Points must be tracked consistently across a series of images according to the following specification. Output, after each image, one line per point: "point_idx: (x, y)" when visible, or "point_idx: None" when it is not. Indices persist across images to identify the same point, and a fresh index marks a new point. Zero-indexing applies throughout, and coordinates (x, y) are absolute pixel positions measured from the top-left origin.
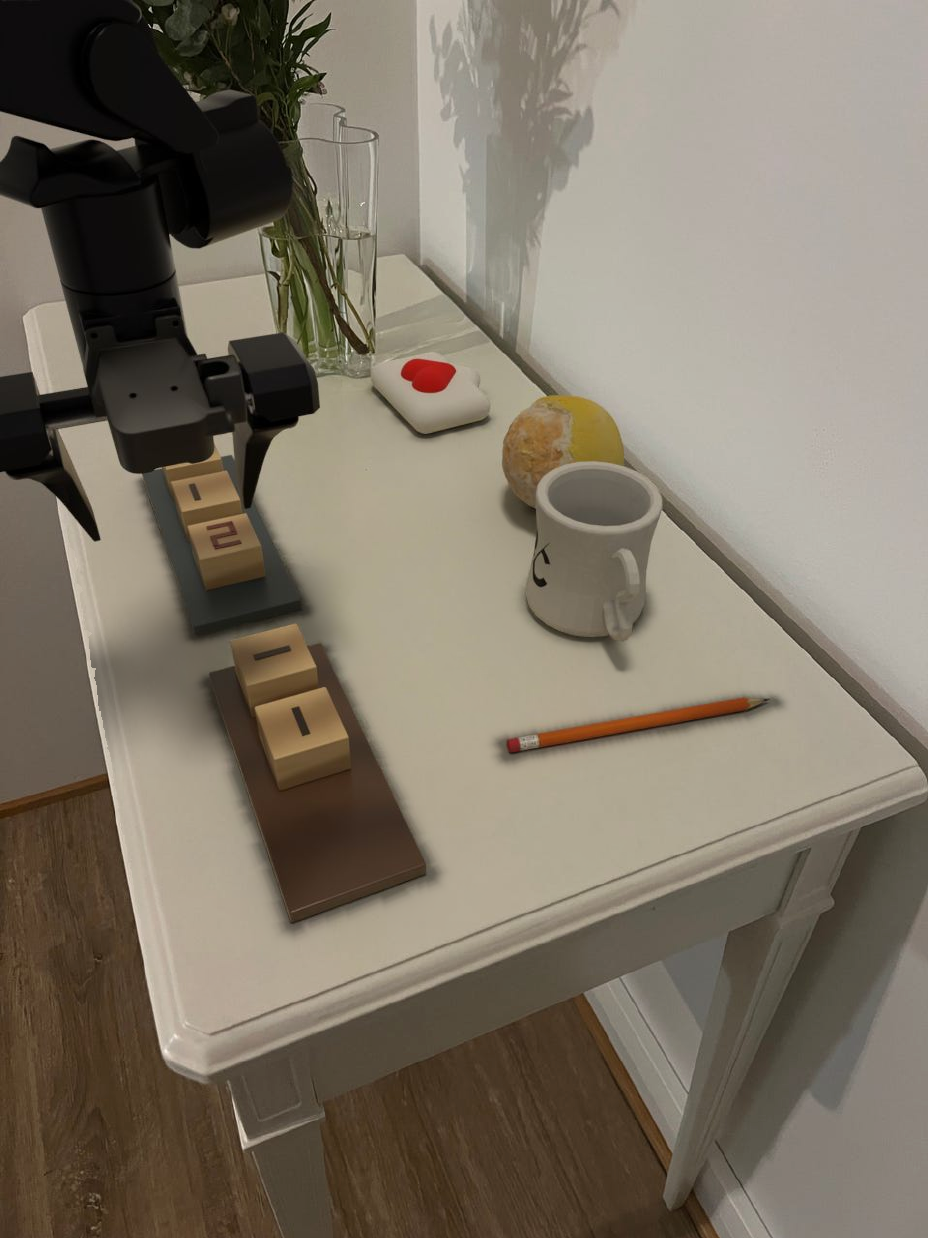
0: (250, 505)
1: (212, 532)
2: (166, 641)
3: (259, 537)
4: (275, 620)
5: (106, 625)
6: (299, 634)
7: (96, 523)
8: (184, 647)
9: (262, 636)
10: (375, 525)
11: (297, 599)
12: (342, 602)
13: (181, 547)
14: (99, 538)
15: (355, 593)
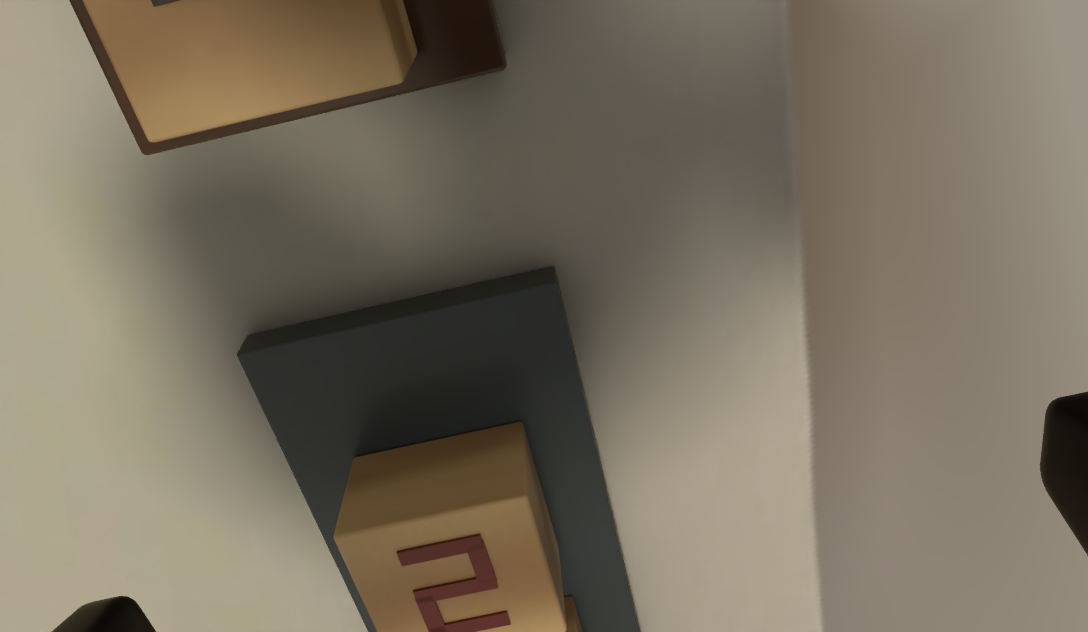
0: (72, 617)
1: (490, 601)
2: (636, 259)
3: None
4: (324, 302)
5: (792, 342)
6: (122, 70)
7: (1075, 528)
8: (586, 228)
9: (275, 84)
10: None
11: (246, 356)
12: (126, 351)
13: (590, 579)
14: (1070, 404)
15: (91, 382)
